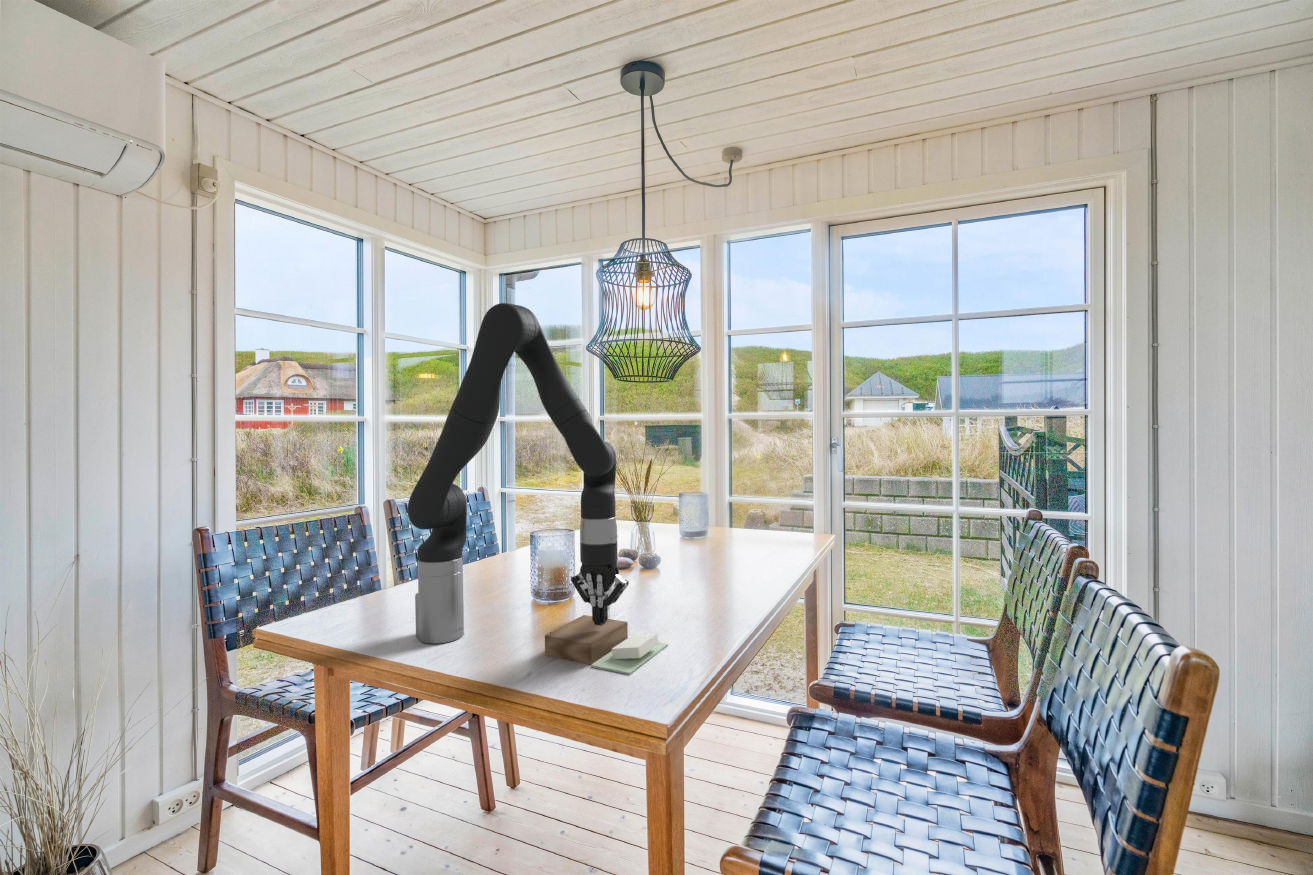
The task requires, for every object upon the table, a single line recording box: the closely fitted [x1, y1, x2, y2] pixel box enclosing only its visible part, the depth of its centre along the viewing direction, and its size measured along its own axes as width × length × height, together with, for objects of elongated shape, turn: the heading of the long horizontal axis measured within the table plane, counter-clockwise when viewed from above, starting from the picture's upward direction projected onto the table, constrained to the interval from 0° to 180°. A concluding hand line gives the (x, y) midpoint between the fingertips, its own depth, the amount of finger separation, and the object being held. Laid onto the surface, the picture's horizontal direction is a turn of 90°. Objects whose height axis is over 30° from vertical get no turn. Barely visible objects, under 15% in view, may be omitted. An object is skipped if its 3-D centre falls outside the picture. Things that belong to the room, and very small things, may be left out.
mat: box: [590, 641, 669, 676], centre depth 119 cm, size 8×16×1 cm, turn 153°
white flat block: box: [612, 633, 660, 659], centre depth 119 cm, size 6×8×2 cm
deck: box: [544, 614, 629, 666], centre depth 124 cm, size 11×14×4 cm
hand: (600, 623), depth 122 cm, fingers closed
